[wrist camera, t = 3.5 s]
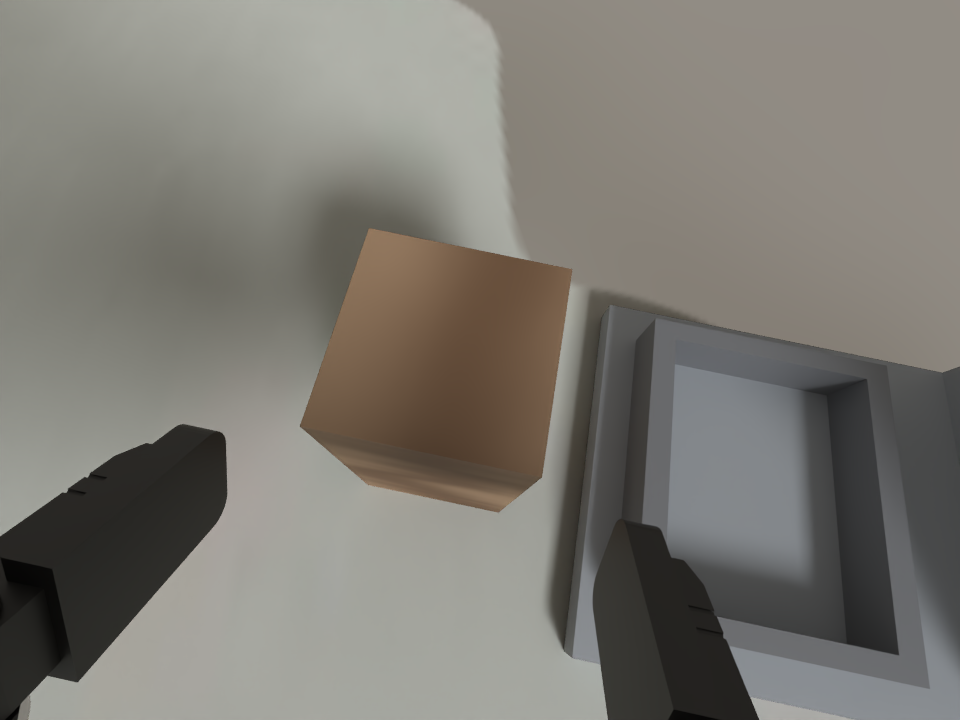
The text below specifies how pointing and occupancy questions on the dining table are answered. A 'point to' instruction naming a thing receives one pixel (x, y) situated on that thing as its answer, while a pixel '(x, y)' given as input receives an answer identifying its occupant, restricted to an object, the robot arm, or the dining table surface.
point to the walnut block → (442, 370)
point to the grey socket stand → (786, 508)
